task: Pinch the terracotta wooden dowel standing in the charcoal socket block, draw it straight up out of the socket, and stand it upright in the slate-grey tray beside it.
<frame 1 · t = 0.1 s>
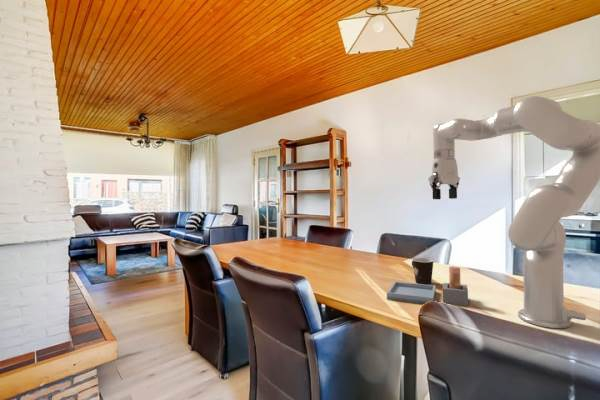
hand: (444, 198, 121), 37 cm above the table, tool pointing down, fingers open, 9 cm apart
socket block: (455, 300, 112), on the table
dowel: (454, 284, 112), in the socket block
tray: (412, 295, 119), on the table
coffee mug: (422, 282, 137), on the table
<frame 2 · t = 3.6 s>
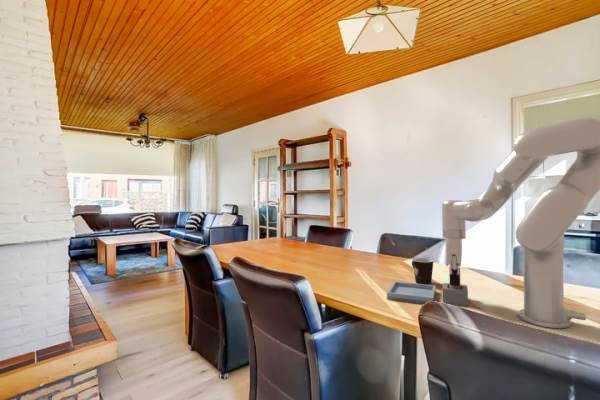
hand: (454, 283, 112), 6 cm above the table, tool pointing down, fingers closed on dowel, 3 cm apart
dowel: (454, 284, 112), in the socket block, touching gripper
everything else where it was.
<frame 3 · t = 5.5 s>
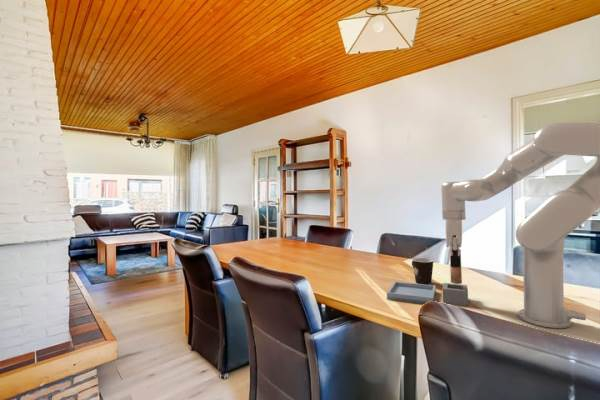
hand: (455, 265, 112), 13 cm above the table, tool pointing down, fingers closed on dowel, 3 cm apart
dowel: (455, 266, 112), point 13 cm above the table, touching gripper
everything else where it was.
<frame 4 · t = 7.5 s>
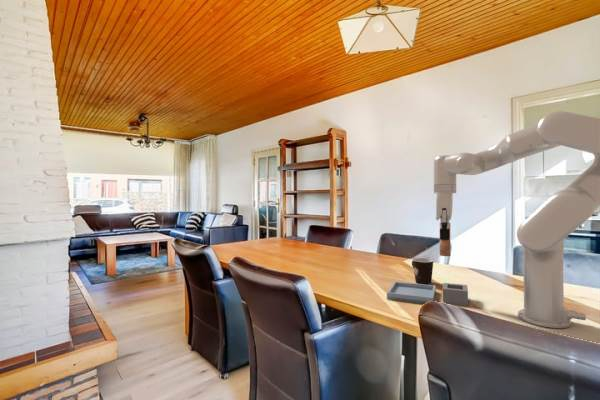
hand: (444, 238, 113), 23 cm above the table, tool pointing down, fingers closed on dowel, 3 cm apart
dowel: (444, 239, 113), point 22 cm above the table, touching gripper
everything else where it was.
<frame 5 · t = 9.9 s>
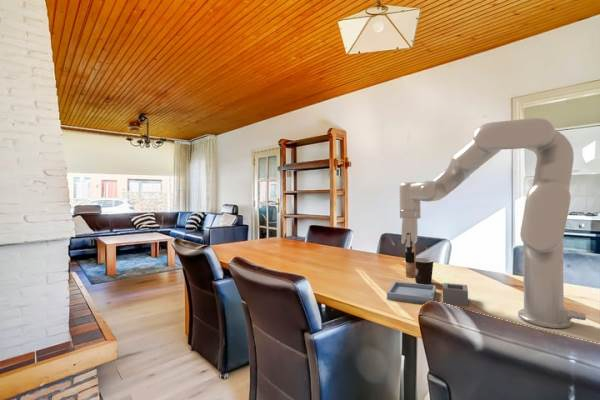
hand: (410, 260, 119), 13 cm above the table, tool pointing down, fingers closed on dowel, 3 cm apart
dowel: (410, 261, 119), point 13 cm above the table, touching gripper
everything else where it was.
when the fingers open (8 cm above the table, at t = 11.6 s): dowel stays where it is, resting on tray.
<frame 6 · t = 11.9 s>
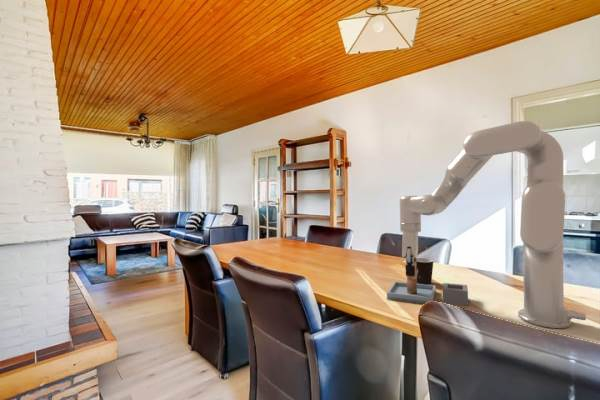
hand: (411, 273, 119), 9 cm above the table, tool pointing down, fingers open, 6 cm apart
dowel: (411, 277, 119), in the tray, point 7 cm above the table
everything else where it was.
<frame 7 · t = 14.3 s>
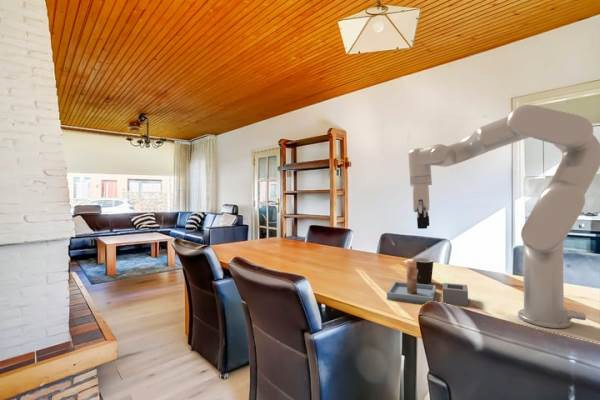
hand: (423, 227, 115), 27 cm above the table, tool pointing down, fingers open, 9 cm apart
nothing on the table moved.
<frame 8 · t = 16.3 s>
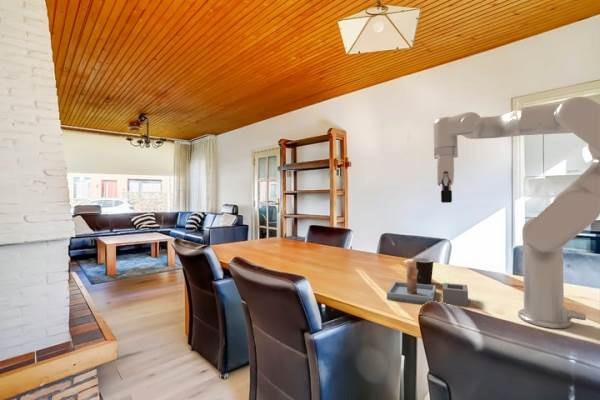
hand: (446, 202, 108), 36 cm above the table, tool pointing down, fingers open, 9 cm apart
nothing on the table moved.
at the end: dowel inside the target area on the tray (0.0 cm from its centre), point 7.0 cm above the tray's base; dowel tilted 1°; the gripper is holding nothing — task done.
